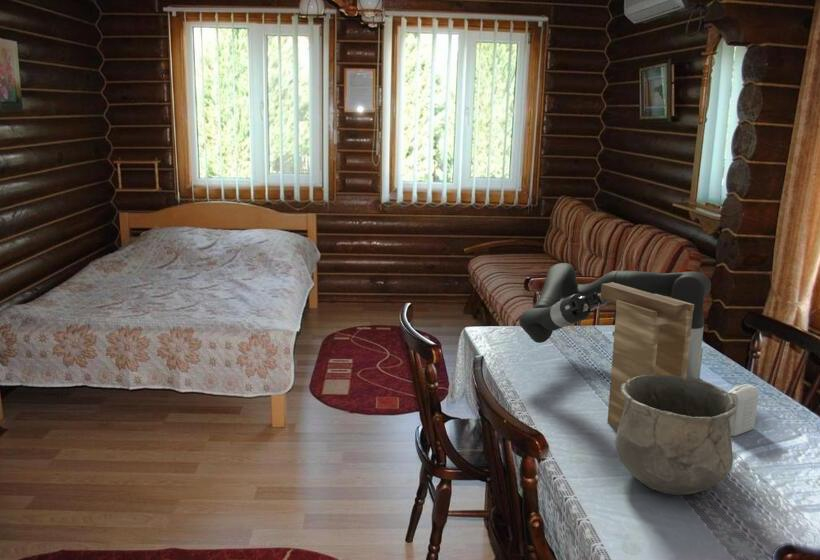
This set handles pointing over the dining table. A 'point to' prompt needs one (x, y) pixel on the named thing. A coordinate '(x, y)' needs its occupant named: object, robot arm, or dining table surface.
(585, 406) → the dining table surface
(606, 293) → the block
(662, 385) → the pot
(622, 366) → the rack
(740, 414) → the photo printer
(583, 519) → the dining table surface
